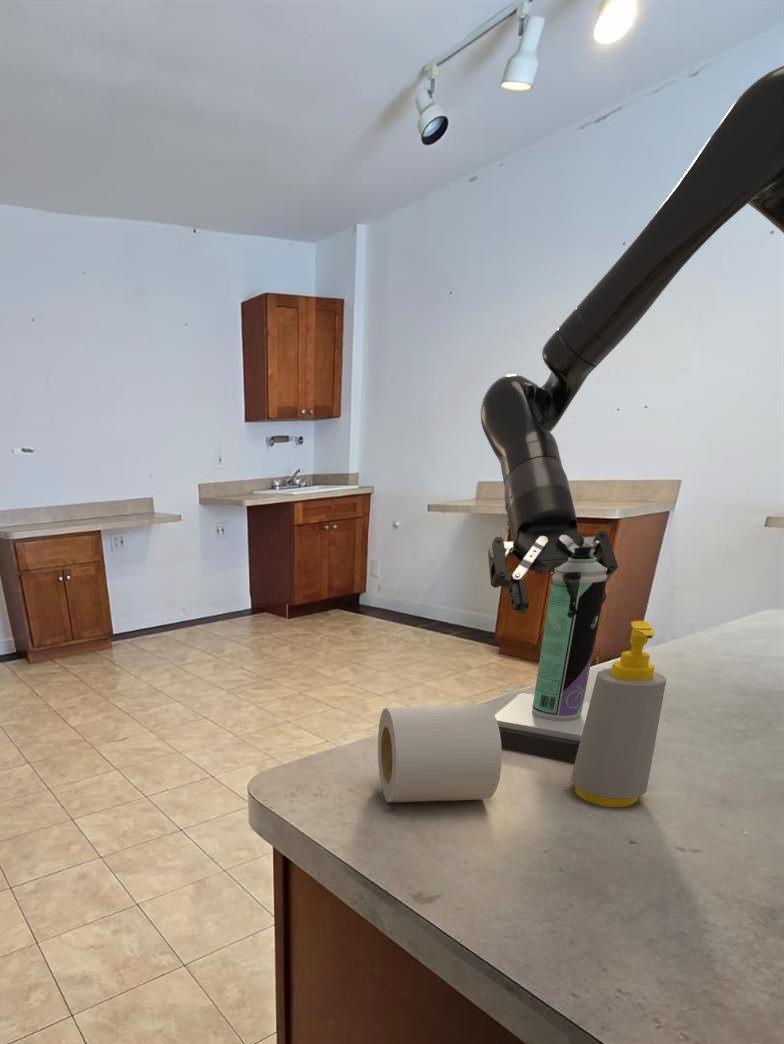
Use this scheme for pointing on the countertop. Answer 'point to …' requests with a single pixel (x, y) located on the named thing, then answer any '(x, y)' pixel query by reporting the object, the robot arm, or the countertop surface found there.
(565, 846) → the countertop surface
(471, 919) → the countertop surface
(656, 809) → the countertop surface
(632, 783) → the soap bottle
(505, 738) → the scale
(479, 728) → the toilet paper
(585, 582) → the spray can
